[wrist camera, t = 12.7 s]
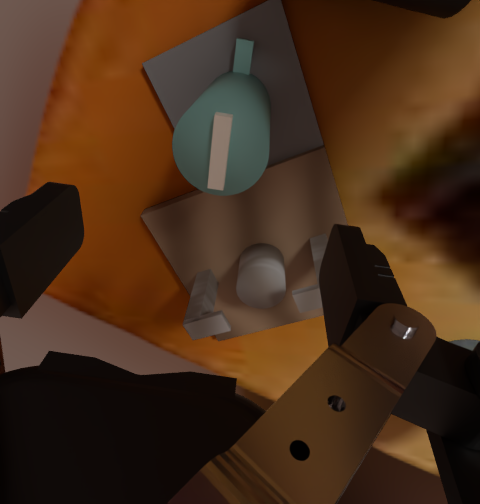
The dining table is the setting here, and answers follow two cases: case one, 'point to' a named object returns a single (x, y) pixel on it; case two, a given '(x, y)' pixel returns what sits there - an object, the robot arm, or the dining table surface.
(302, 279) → the square mounting plate
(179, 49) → the mat
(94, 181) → the dining table surface
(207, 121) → the teal teardrop shape
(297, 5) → the dining table surface
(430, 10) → the black lumpy shape
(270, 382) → the dining table surface
